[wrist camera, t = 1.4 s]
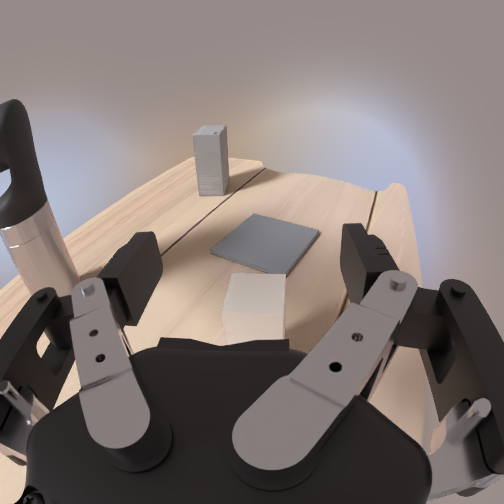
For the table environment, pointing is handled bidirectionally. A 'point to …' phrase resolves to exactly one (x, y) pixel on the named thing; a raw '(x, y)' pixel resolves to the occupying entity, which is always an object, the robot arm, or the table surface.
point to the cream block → (255, 307)
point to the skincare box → (211, 160)
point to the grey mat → (266, 244)
